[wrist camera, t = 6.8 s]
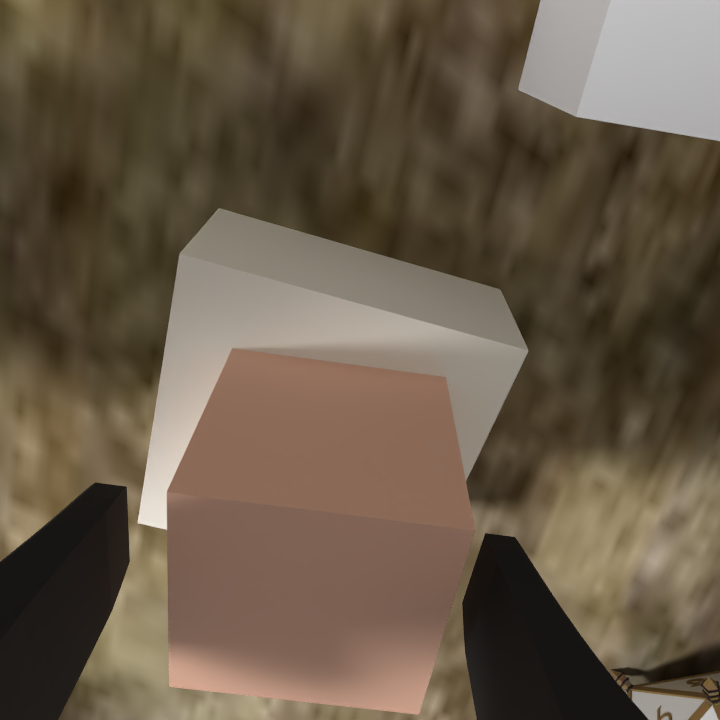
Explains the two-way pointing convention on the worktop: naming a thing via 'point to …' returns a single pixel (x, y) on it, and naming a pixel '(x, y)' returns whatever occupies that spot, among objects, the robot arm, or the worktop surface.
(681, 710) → the game die
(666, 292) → the worktop surface
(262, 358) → the terracotta cube
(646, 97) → the white cube
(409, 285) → the cream base block
